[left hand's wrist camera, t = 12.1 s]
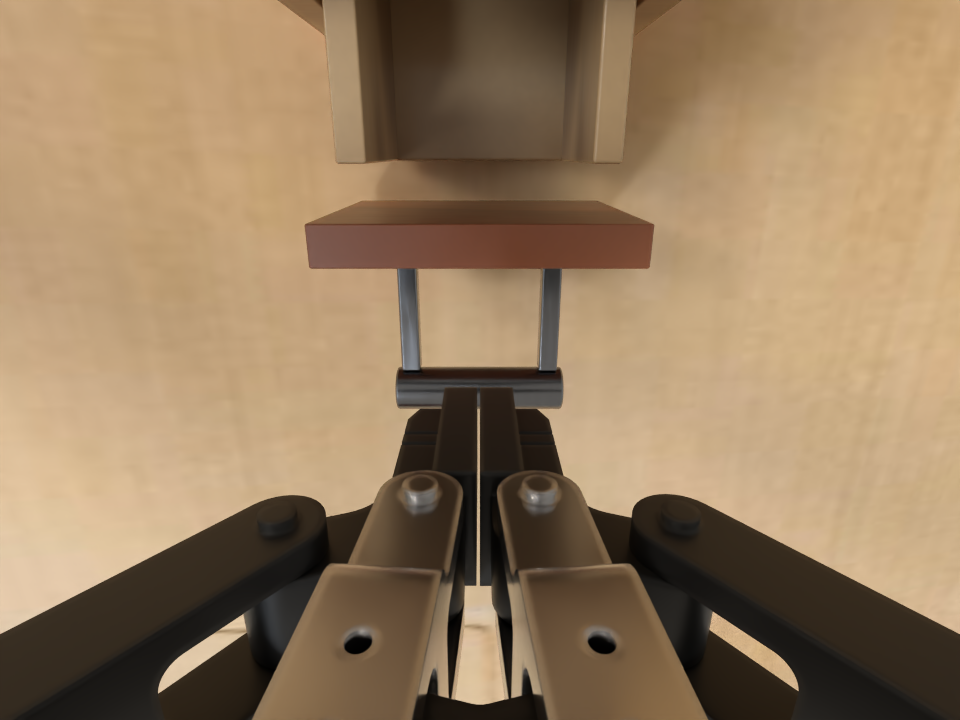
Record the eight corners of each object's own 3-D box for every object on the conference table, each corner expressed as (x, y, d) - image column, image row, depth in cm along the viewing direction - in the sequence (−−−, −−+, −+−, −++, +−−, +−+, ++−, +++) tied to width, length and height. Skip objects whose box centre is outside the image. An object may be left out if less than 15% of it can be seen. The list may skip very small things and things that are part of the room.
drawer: (586, 354, 24) (631, 438, 17) (372, 354, 24) (327, 438, 17) (639, -368, 16) (764, -773, 9) (319, -367, 16) (194, -775, 9)
